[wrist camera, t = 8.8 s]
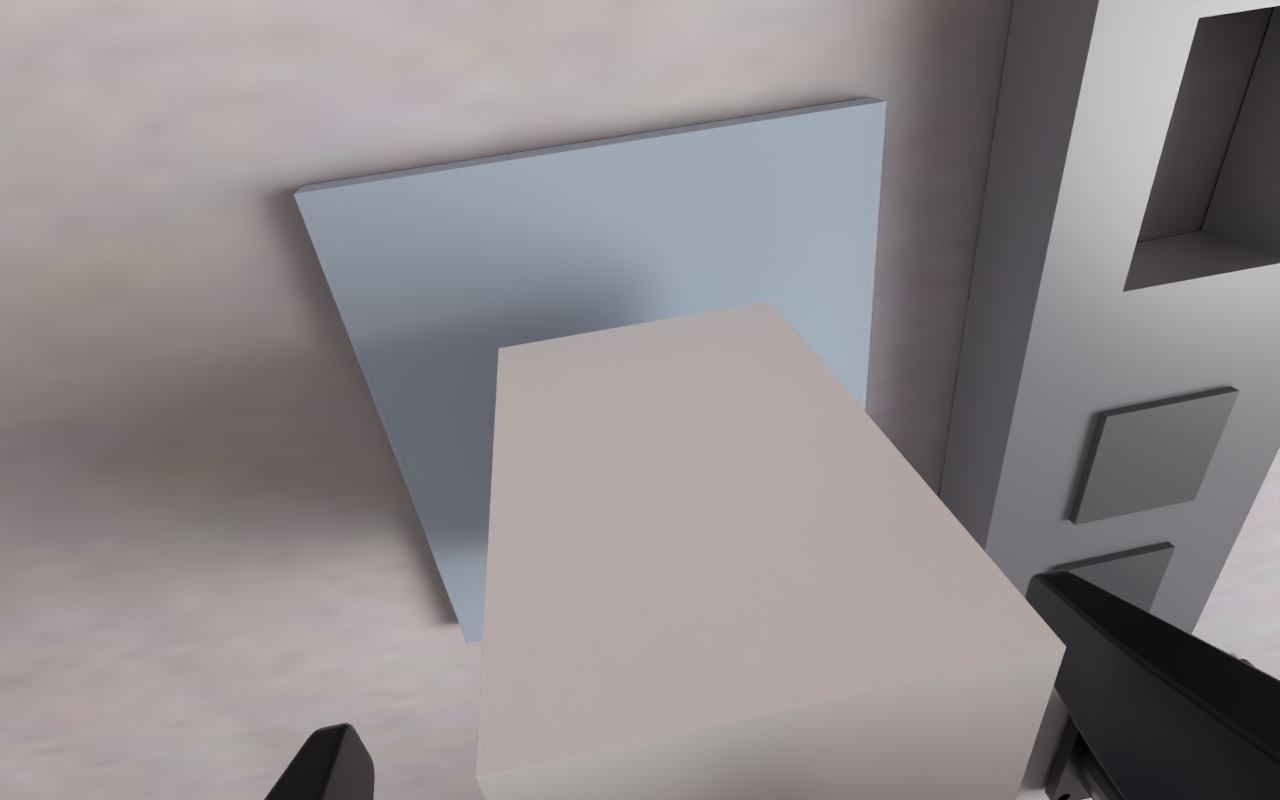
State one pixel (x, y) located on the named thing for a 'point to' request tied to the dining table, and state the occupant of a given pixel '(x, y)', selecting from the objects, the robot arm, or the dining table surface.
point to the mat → (587, 275)
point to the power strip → (1117, 315)
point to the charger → (734, 586)
